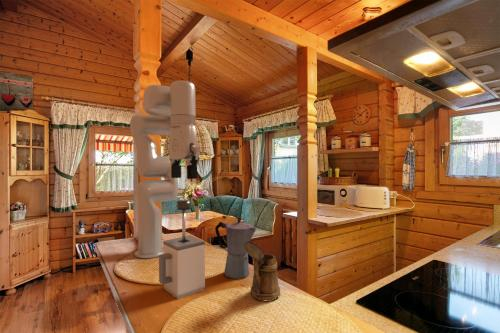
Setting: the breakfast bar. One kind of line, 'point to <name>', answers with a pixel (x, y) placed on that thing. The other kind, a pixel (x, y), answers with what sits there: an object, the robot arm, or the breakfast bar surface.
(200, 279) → the carafe
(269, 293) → the wooden mug
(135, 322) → the breakfast bar surface
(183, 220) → the plunger
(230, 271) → the moka pot
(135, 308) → the breakfast bar surface
